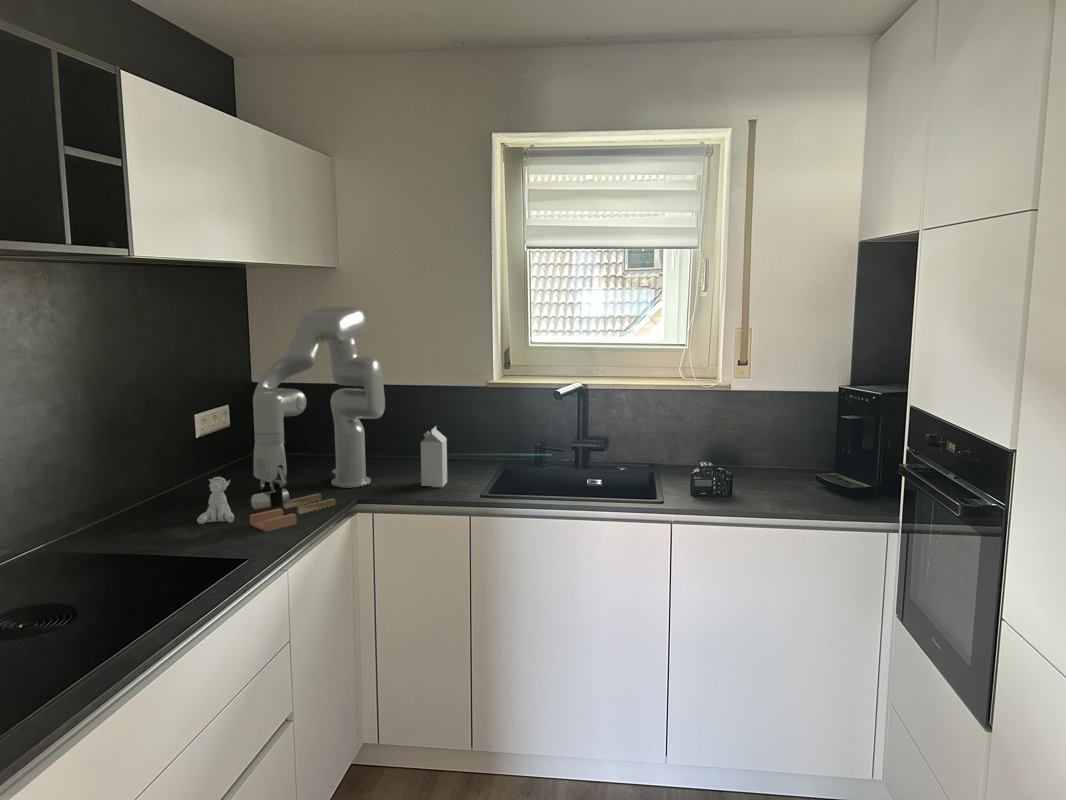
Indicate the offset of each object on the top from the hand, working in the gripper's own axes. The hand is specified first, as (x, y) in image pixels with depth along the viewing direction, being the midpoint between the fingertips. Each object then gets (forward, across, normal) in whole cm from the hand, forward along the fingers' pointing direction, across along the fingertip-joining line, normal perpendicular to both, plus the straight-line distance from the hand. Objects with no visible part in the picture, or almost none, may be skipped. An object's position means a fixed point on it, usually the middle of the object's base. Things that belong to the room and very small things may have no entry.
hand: (272, 503), depth 209 cm
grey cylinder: (-2, 0, 0) cm, 2 cm away
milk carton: (+6, -1, +58) cm, 58 cm away
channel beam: (+6, -8, +16) cm, 19 cm away
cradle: (+6, 0, 0) cm, 6 cm away
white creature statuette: (+6, -16, -8) cm, 19 cm away
